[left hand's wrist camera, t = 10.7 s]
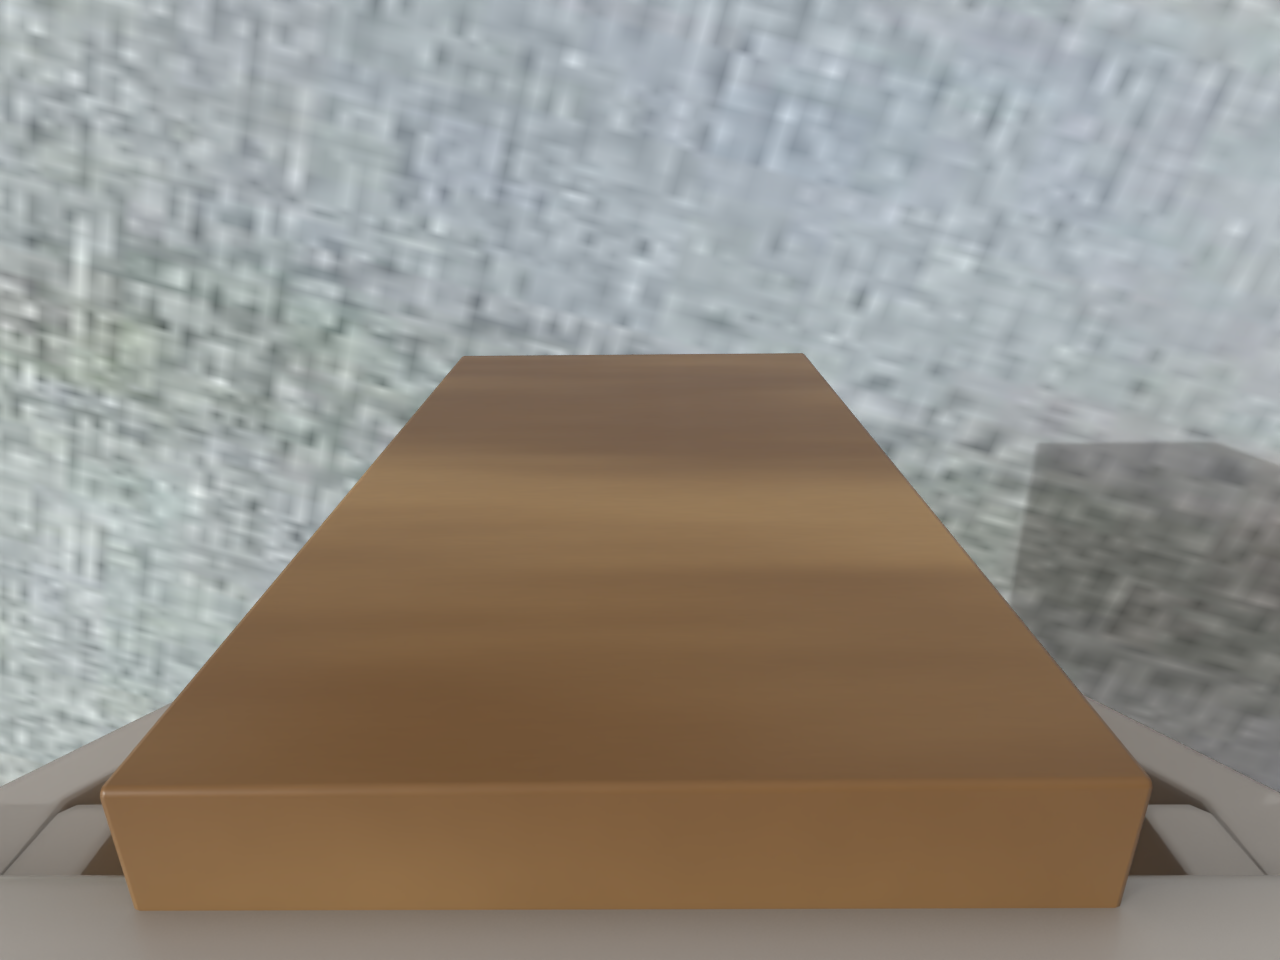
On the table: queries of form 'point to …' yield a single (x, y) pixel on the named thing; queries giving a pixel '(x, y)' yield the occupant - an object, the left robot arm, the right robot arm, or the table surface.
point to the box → (629, 677)
